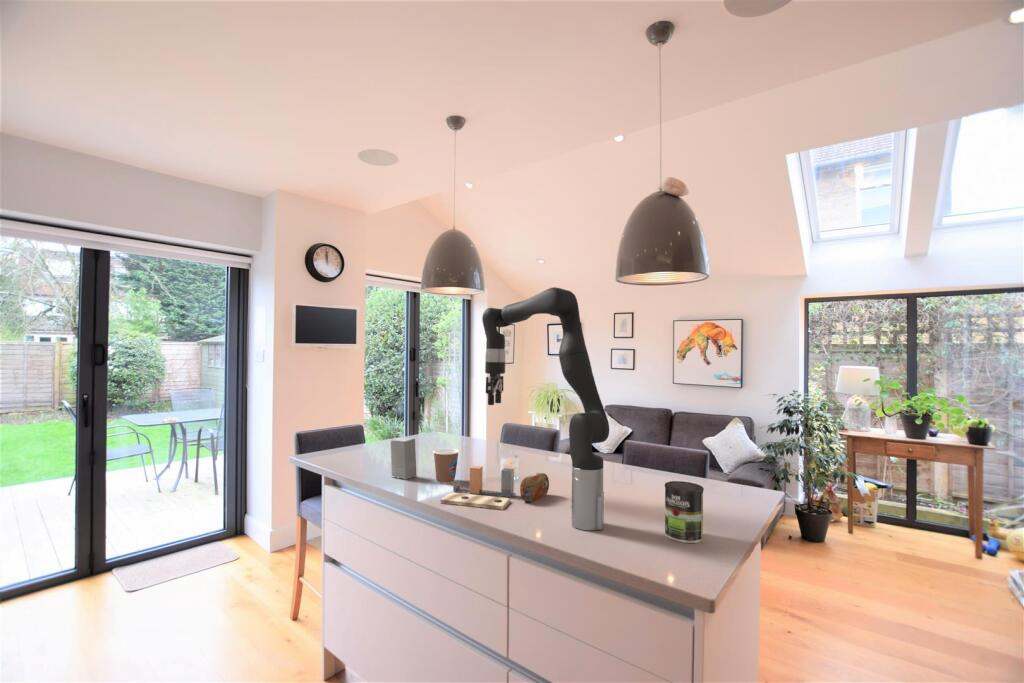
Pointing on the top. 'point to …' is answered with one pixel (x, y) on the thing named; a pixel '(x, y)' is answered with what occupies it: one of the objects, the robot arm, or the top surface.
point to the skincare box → (403, 458)
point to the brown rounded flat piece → (534, 487)
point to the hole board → (476, 500)
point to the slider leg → (476, 479)
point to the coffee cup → (445, 464)
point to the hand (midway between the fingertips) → (494, 404)
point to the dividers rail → (506, 485)
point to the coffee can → (684, 511)
